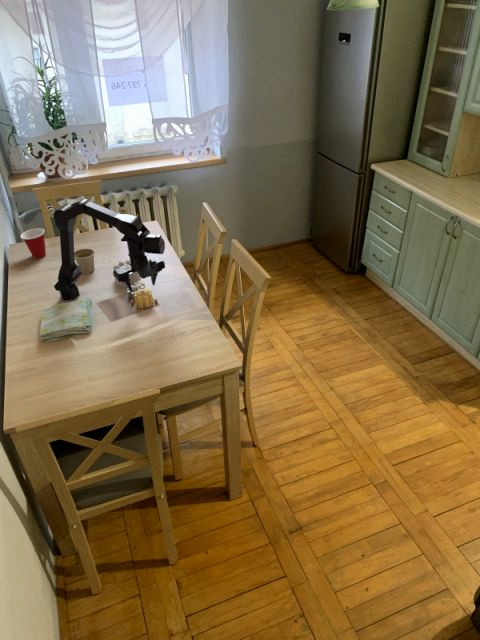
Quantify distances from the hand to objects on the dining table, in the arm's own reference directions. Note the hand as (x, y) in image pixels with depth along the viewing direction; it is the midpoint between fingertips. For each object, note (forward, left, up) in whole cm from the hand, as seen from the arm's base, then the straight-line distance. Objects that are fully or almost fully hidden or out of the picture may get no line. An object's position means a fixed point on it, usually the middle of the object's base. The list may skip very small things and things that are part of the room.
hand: (142, 288), depth 178 cm
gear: (0, +8, -7) cm, 10 cm away
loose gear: (0, 0, -7) cm, 7 cm away
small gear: (+3, +13, -7) cm, 15 cm away
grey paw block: (+2, +23, -8) cm, 24 cm away
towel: (-29, +6, -9) cm, 30 cm away
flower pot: (-9, +43, -8) cm, 44 cm away
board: (-6, +4, -8) cm, 10 cm away
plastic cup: (-23, +71, -8) cm, 75 cm away
